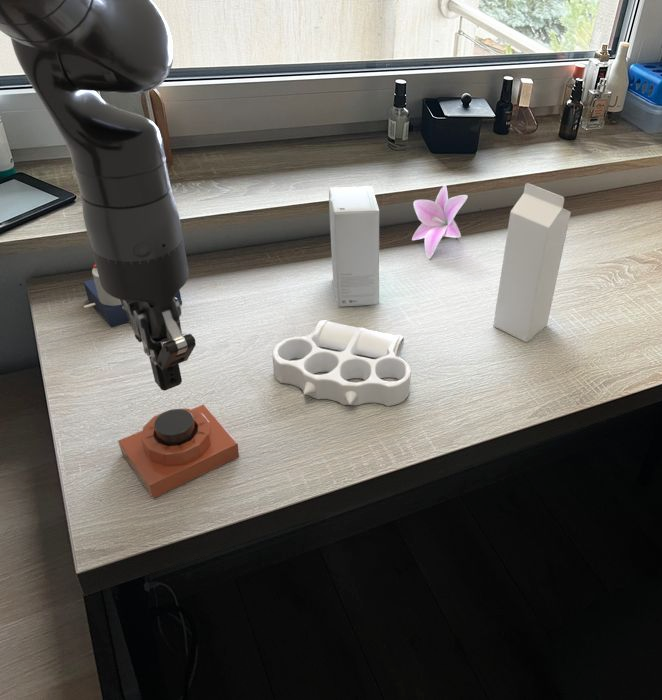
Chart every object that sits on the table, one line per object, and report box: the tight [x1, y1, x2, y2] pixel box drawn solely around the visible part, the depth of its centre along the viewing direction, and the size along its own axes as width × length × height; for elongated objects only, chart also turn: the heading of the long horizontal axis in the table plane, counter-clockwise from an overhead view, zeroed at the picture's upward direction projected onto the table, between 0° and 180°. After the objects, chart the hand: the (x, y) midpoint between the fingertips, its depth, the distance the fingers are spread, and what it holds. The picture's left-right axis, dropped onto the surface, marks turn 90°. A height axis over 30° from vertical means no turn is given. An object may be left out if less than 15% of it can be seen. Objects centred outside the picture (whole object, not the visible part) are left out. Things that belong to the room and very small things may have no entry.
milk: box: [492, 182, 572, 343], centre depth 100 cm, size 6×6×22 cm
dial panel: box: [83, 278, 183, 328], centre depth 100 cm, size 12×10×3 cm
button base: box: [117, 404, 240, 499], centre depth 80 cm, size 10×8×4 cm
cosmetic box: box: [328, 185, 380, 308], centre depth 105 cm, size 8×7×16 cm
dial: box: [91, 264, 122, 306], centre depth 96 cm, size 4×4×5 cm
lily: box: [411, 183, 469, 260], centre depth 122 cm, size 12×12×10 cm
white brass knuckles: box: [272, 319, 412, 407], centre depth 94 cm, size 3×18×15 cm
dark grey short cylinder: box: [154, 408, 196, 446], centre depth 78 cm, size 4×4×2 cm
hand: (169, 383), depth 74 cm, fingers closed
